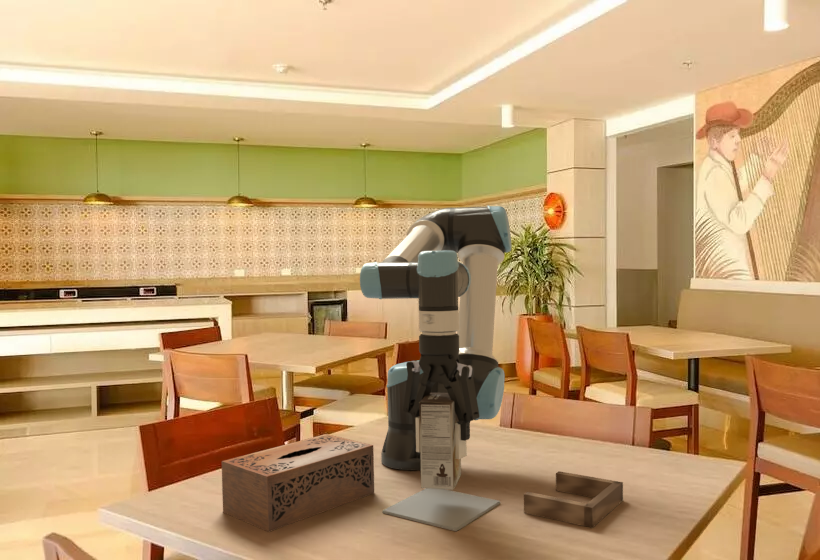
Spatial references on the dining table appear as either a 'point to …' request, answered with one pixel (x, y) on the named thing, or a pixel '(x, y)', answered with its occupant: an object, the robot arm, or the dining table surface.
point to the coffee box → (438, 442)
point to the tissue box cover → (296, 480)
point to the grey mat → (442, 508)
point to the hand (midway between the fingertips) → (441, 453)
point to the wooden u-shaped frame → (575, 512)
